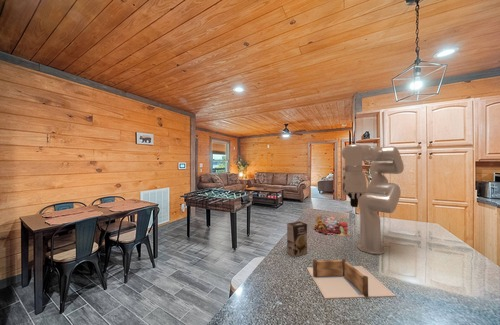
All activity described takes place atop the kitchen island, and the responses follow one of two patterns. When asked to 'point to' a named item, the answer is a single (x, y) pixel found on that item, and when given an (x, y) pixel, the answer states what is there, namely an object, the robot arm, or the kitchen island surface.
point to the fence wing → (356, 278)
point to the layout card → (349, 286)
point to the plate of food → (331, 226)
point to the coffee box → (297, 238)
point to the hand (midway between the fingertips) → (354, 206)
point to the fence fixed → (328, 268)
